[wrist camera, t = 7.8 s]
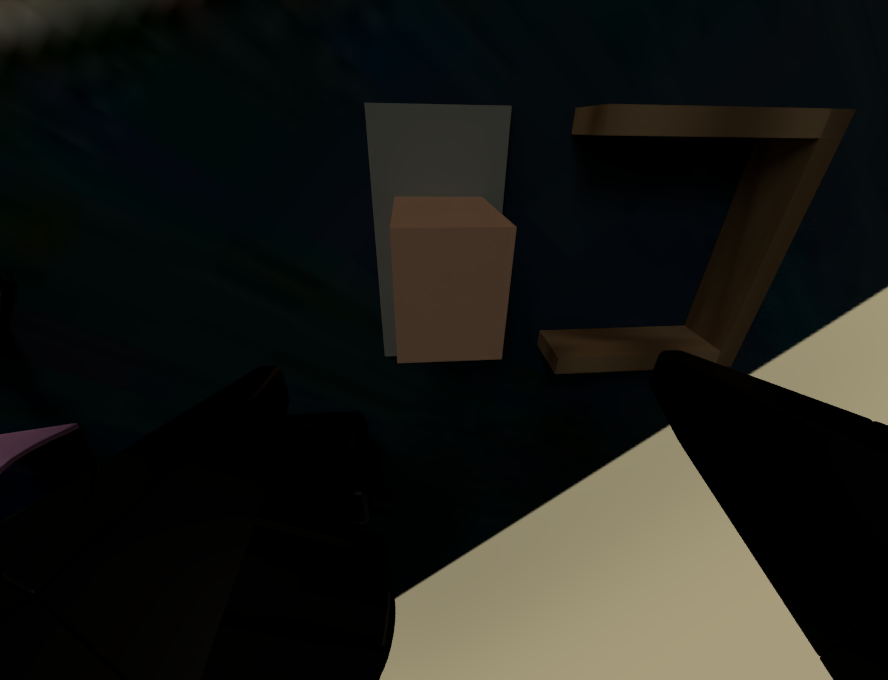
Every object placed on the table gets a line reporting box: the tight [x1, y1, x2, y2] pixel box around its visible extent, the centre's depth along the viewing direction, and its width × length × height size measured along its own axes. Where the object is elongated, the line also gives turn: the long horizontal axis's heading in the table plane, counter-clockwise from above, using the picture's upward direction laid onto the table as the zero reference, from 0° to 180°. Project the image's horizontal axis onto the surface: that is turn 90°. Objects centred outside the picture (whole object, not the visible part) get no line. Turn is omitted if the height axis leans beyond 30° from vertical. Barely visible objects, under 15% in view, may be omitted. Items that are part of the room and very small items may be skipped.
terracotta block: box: [390, 197, 517, 363], centre depth 15 cm, size 4×5×6 cm
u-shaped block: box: [537, 104, 856, 374], centre depth 18 cm, size 10×12×3 cm
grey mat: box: [365, 103, 512, 356], centre depth 18 cm, size 6×12×1 cm, turn 179°
